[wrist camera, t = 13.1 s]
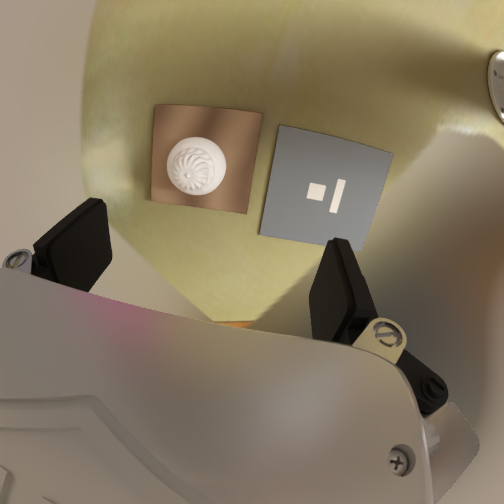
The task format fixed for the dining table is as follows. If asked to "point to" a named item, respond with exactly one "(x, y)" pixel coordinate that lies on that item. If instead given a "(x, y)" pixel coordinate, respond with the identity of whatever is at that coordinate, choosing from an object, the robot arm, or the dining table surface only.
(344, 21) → the dining table surface
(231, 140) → the walnut pad
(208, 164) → the muffin
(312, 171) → the tile
